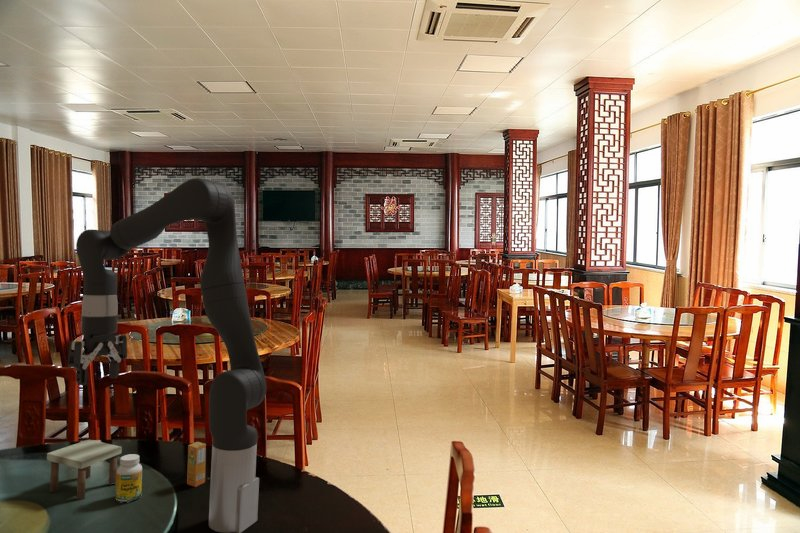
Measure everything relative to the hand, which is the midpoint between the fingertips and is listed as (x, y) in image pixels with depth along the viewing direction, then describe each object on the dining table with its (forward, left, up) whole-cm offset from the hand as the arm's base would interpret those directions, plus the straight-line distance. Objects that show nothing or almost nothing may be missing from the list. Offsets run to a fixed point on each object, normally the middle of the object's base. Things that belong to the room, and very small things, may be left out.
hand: (98, 381), depth 130 cm
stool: (+2, +1, -26) cm, 26 cm away
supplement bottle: (-12, +1, -26) cm, 28 cm away
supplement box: (-20, -12, -26) cm, 35 cm away
